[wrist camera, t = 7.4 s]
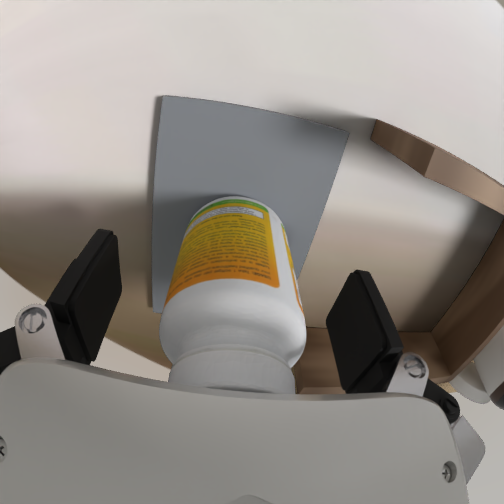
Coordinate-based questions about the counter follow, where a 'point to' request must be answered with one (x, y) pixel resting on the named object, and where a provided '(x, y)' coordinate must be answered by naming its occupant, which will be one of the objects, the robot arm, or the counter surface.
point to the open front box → (468, 301)
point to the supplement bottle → (234, 302)
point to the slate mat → (237, 173)
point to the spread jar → (484, 374)
